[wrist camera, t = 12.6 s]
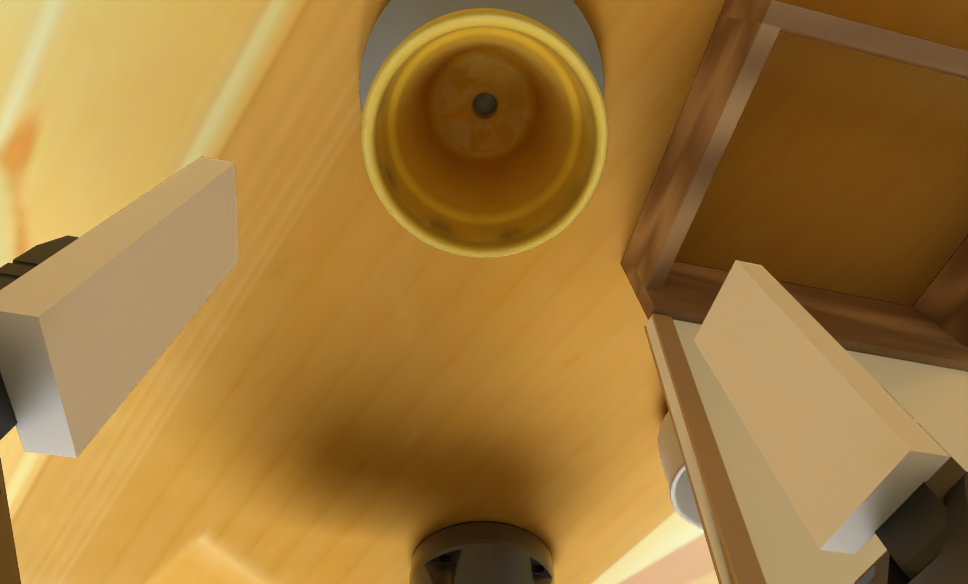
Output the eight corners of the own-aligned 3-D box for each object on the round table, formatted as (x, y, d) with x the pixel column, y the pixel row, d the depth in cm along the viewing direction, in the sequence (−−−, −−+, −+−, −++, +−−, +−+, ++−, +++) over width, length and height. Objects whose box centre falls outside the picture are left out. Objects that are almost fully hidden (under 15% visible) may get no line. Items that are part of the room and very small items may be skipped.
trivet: (561, 225, 35) (563, 232, 34) (353, 184, 34) (349, 191, 33) (634, -7, 28) (640, -6, 27) (376, -73, 27) (372, -75, 26)
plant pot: (538, -37, 26) (566, -42, 18) (594, 150, 32) (636, 214, 23) (358, 48, 28) (310, 79, 20) (438, 211, 33) (426, 290, 25)
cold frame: (916, 319, 40) (993, 380, 34) (620, 263, 37) (648, 319, 31) (1095, 91, 31) (1241, 119, 25) (727, -5, 28) (794, 1, 22)
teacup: (706, 471, 49) (743, 552, 42) (618, 427, 46) (643, 507, 39) (829, 375, 43) (896, 451, 36) (738, 316, 40) (792, 388, 33)
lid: (957, 416, 36) (1252, 689, 22) (628, 362, 33) (735, 637, 19) (998, 373, 34) (1350, 643, 20) (651, 311, 31) (790, 578, 17)
